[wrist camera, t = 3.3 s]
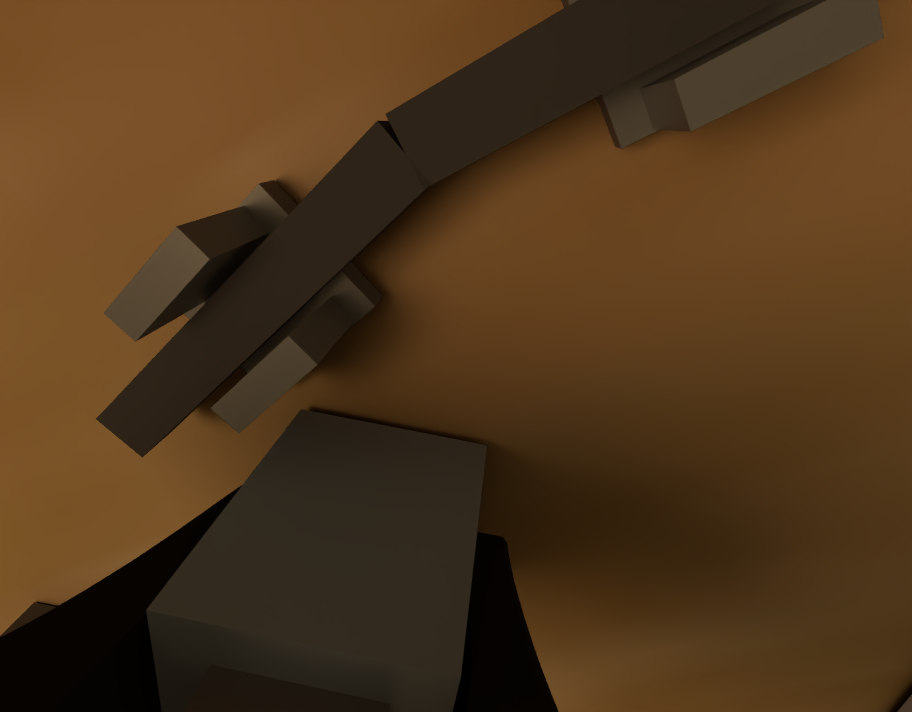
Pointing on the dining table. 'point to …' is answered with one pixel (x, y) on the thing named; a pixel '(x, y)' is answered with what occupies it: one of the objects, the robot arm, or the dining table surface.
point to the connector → (328, 578)
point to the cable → (407, 183)
